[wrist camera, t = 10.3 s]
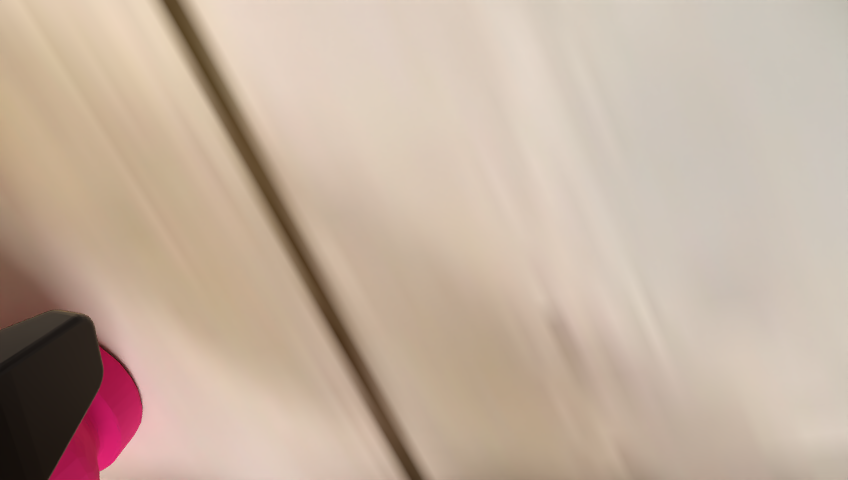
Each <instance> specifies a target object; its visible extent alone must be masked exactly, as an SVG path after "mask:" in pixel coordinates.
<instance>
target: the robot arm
mask: <svg viewBox="0 0 848 480" xmlns="http://www.w3.org/2000/svg"><path fill="white" fill-rule="evenodd" d="M103 373H104V368H103V362H102V358H101V353H100V349H99V344H98V340H97V336H96V331H95V327H94V323H93V321H92V320H91V319H90V318H89V316H87V315H85V314H81V313H75V312H69V311H63V310H51V311H48V312H45V313H43V314H40V315H38V316H35V317H32V318H30V319H27V320H25V321H22V322H19V323H17V324H14V325H12V326H9V327H7V328H4V329H1V330H0V480H49V479H50V477H51V475H52V473H53V471H54V470H55V468H56V466H57V464H58V462H59V461H60V459H61V457H62V455H63V453H64V452H65V450H66V448H67V446H68V444H69V443H70V441H71V439H72V437H73V435H74V434H75V432H76V430H77V428H78V427H79V425H80V423H81V421H82V419H83V418H84V416H85V414H86V412H87V410H88V409H89V407H90V405H91V403H92V401H93V400H94V398H95V396H96V394H97V392H98V391H99V388H100V386H101V383H102V380H103Z"/></svg>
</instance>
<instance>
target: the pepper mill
mask: <svg viewBox="0 0 848 480" xmlns="http://www.w3.org/2000/svg"><path fill="white" fill-rule="evenodd" d="M99 349H100V353H101V358H102V362H103V368H104V373H103V380H102V383H101V386H100V388H99V391H98V392H97V394H96V396H95V398H94V400H93V401H92V403H91V405H90V407H89V409H88V410H87V412H86V414H85V416H84V418H83V419H82V421H81V423H80V425H79V427H78V428H77V430H76V432H75V434H74V435H73V437H72V439H71V441H70V443H69V444H68V446H67V448H66V450H65V452H64V453H63V455H62V457H61V459H60V461H59V462H58V464H57V466H56V468H55V470H54V471H53V473H52V475H51V477H50V479H49V480H100V478H99V471H102V470H103V469H105V468H106V467H108V466H110V465H111V464H112V463H113V462H114V461H115V460H116V458H117V457H118V456H119V454H120V453H121V452H122V450H123V449H124V448H125V446H126V445H127V444H128V442H129V441H130V440H131V439H132V437H133V436H134V434H135V433H136V431H137V429H138V427H139V425H140V423H141V419H142V404H141V400H140V396H139V392H138V389H137V387H136V385H135V384H134V382H133V380H132V378H131V377H130V375H129V374H128V373H127V371H126V370H125V369H124V368H123V366H122V365H121V364H120V363H119V362H118V361H117V360H116V359H114V358H113V357H112V356H111V355H110V354H108V353H107V352H106V351H105V350H104V349H102V348H101V347H100V346H99Z"/></svg>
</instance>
